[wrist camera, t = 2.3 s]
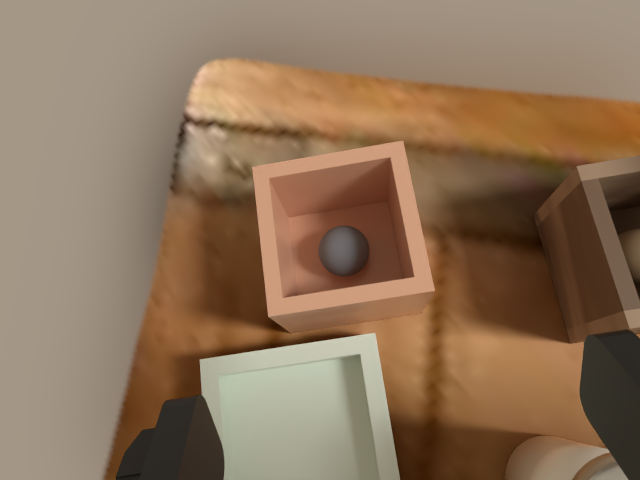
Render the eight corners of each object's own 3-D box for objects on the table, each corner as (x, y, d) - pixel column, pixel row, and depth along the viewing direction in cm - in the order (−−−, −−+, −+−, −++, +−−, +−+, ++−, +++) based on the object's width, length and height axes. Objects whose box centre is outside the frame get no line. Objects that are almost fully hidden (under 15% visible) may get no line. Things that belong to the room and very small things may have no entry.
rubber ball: (365, 230, 31) (364, 214, 28) (373, 277, 30) (373, 264, 27) (318, 238, 31) (312, 223, 28) (324, 284, 30) (319, 273, 28)
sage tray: (375, 337, 30) (375, 332, 28) (421, 609, 26) (426, 631, 23) (213, 362, 31) (199, 359, 28) (232, 632, 26) (218, 656, 24)
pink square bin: (397, 192, 32) (402, 140, 26) (421, 313, 30) (434, 290, 23) (277, 212, 33) (252, 167, 26) (291, 333, 31) (268, 316, 24)
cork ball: (643, 234, 29) (672, 216, 26) (661, 283, 28) (693, 271, 25) (591, 242, 29) (614, 226, 27) (607, 291, 29) (633, 280, 26)
